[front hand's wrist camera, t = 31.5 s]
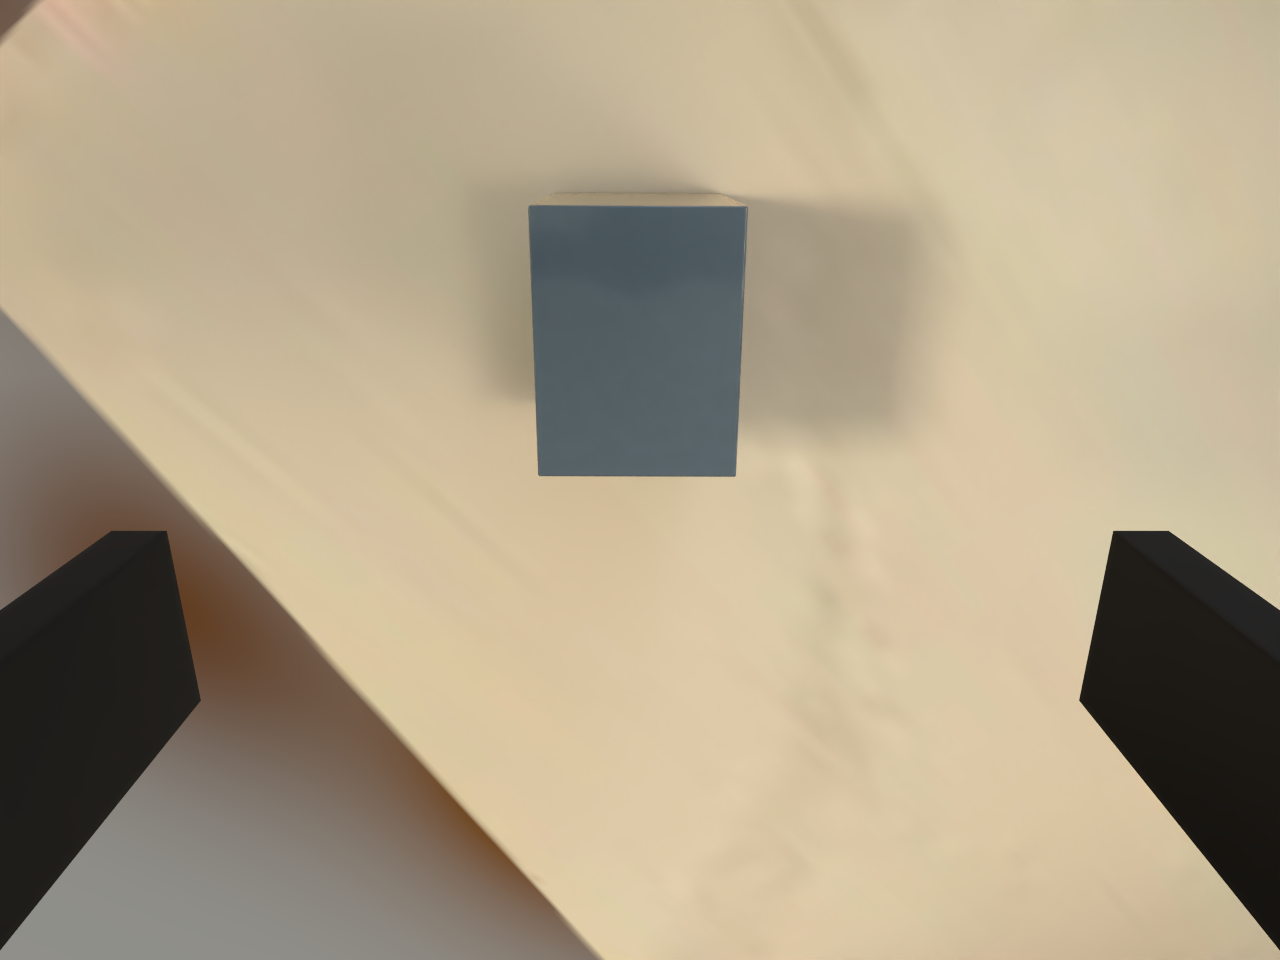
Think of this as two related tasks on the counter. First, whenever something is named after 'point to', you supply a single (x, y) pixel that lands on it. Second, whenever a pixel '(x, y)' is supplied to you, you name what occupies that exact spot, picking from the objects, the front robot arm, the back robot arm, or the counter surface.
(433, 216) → the counter surface
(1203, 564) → the front robot arm
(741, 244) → the block
